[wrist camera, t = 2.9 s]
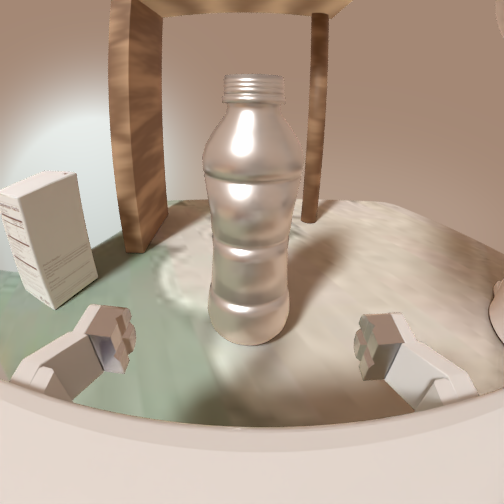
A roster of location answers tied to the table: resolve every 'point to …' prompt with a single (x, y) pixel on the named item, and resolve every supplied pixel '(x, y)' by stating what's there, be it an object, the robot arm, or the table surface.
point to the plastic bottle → (251, 209)
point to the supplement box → (48, 235)
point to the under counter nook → (150, 102)
